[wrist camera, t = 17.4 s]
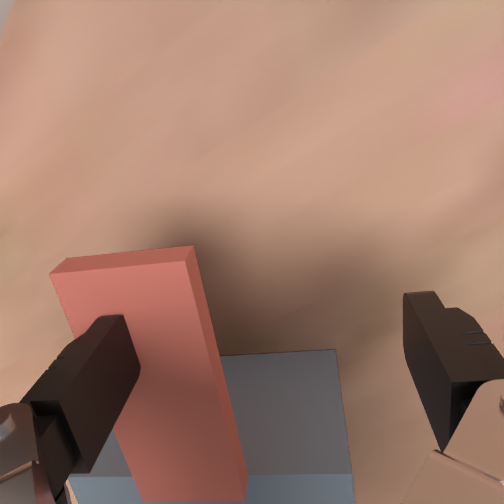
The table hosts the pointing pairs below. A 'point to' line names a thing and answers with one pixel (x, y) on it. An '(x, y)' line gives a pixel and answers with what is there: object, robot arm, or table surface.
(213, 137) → the table surface
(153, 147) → the table surface
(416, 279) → the table surface
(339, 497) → the block
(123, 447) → the latch lever
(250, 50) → the table surface
